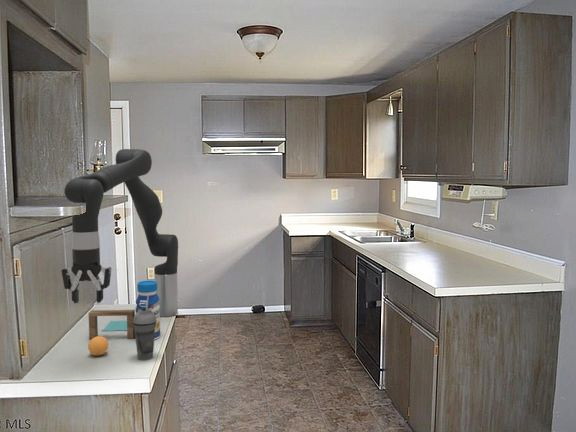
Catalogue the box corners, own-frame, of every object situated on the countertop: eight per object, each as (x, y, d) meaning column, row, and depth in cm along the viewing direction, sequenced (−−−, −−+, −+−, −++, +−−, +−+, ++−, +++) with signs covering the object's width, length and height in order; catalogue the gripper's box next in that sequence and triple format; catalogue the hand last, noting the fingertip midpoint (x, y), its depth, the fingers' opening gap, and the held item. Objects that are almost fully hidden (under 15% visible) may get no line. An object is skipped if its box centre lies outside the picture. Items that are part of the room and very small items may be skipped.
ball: (92, 351, 157) (91, 333, 157) (111, 351, 158) (110, 333, 157) (86, 358, 151) (85, 340, 151) (105, 358, 152) (105, 339, 151)
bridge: (92, 337, 171) (91, 310, 170) (135, 336, 172) (134, 309, 171) (89, 340, 168) (88, 312, 167) (133, 339, 169) (132, 312, 169)
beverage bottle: (149, 332, 177) (148, 278, 175) (165, 336, 172) (164, 281, 170) (130, 338, 170) (129, 283, 168) (147, 343, 165) (146, 286, 163)
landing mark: (111, 321, 190) (111, 320, 190) (142, 320, 191) (142, 320, 191) (101, 331, 178) (101, 330, 178) (135, 330, 179) (135, 329, 179)
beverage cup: (136, 353, 156) (135, 292, 154) (159, 353, 156) (158, 292, 154) (130, 362, 149) (129, 298, 147) (154, 361, 149) (153, 298, 147)
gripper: (114, 244, 147) (115, 298, 148) (65, 245, 145) (67, 299, 147) (107, 248, 139) (108, 305, 141) (55, 248, 138) (57, 306, 139)
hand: (87, 302), depth 144 cm, fingers open, 6 cm apart
